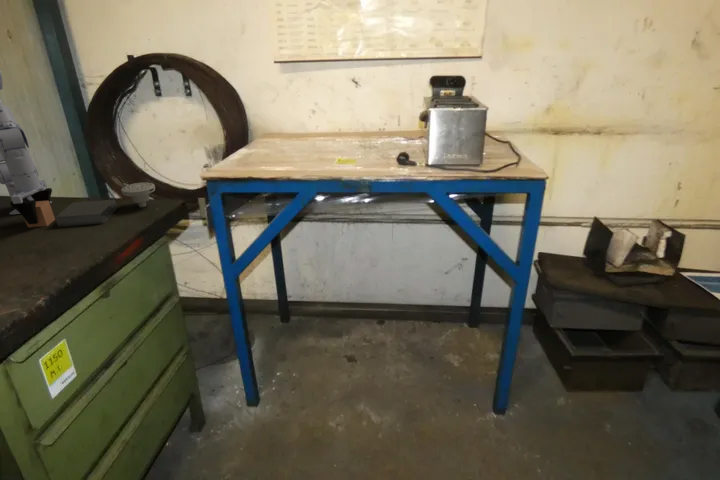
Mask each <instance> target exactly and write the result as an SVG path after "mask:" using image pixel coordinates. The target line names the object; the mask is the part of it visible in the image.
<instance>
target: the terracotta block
mask: <svg viewBox="0 0 720 480" xmlns="http://www.w3.org/2000/svg"><path fill="white" fill-rule="evenodd" d="M35 207H36V214H37V218H38V223H37V224H28V222H27V221H26V220H25V219H24V222H25V224H26V226H27V228H37V227H39V228H41V227H48V226H49V225H50V224H52V223H53V222H54V221H56V219H55V217H56V216H55V215H54V212H53V209H52V207H51V203H49V201H36V206H35Z"/></svg>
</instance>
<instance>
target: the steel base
mask: <svg viewBox="0 0 720 480" xmlns="http://www.w3.org/2000/svg"><path fill="white" fill-rule="evenodd" d="M117 210H118V205H117V202H116V199H105V200H94V201H93V200H91V201H77V202H76V201H75V202H72V203H70V204H69V205H68V206H67V207H65V208H64V209H62V211H61V212H59V213H58V214H57V215H55V216H54V217H55V222H56V224H57V227H58V228H60V227H61V228H62V227H74V226H75V227H77V226H87V225H99V224H100V225H101V224H105V223H106V222H107V221H108V219H109V218H110V217H111V216H113V214H114V213H115V211H117Z"/></svg>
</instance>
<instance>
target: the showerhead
mask: <svg viewBox="0 0 720 480" xmlns="http://www.w3.org/2000/svg"><path fill="white" fill-rule="evenodd" d="M122 186H123V187H122V188H121V190H120V191H121V194H122V195H123V196H127V197H131V200H132V202H134V203H135V204H137V205H138V207H139V208H144V207H146V206H147V202H148V201H149V200H150V195H149V194H151V193H153V192H155V190H156V186H155V184H154V183H151V182H148V181H147V182H142V181H141V182H136V183H135V182H134V183H132V184H131V183H130V184H126V183H124V182H123V184H122Z"/></svg>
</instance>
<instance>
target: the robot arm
mask: <svg viewBox="0 0 720 480" xmlns="http://www.w3.org/2000/svg"><path fill="white" fill-rule="evenodd" d="M3 83H4V82H3V74H2V71H1V69H0V91H1V90H3V89H4V88H3V85H4V84H3ZM29 149H30V144H29V141H28V137H27V135H26V133H25V131H24V129H23V127H22V126H21V125H20V123H18V122H17V120H16V118H15V116H14V114H13V112H12V109H11V108H10V107H9V106H8V105H5V104H3V102H2V100H1V98H0V184H1V185H5V187H6V188H7V191H8V192H7V193H8V194H9V197H10V200H11V201H10V202H9V204H10V206H11V207H12V208H14V209H13V210H12V211H9V215H21V216H22V217H23V219H24V221H25V220H26V221H27V222H28V224H37V223H38V218H37V214H36V207H35V206H36V201H49V203H50V204H52V203H53V201H51V197H52V196H51V195H52V192H53V189H52V188H51V187H48V184H47V182H46V180H40V179H39V171H38V168H37V166H36V164H35V162H34V160H33V157H32V155H31V154H30V151H29ZM26 221H25V222H26Z"/></svg>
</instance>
